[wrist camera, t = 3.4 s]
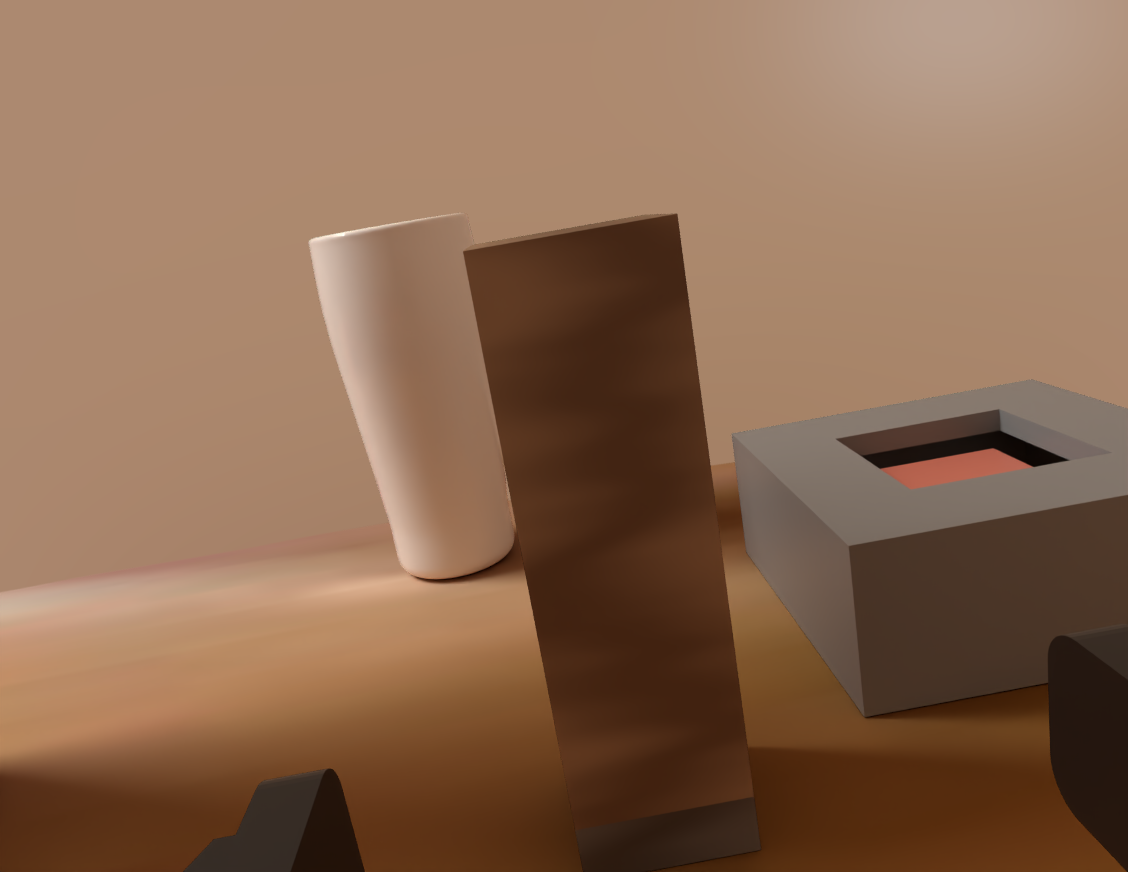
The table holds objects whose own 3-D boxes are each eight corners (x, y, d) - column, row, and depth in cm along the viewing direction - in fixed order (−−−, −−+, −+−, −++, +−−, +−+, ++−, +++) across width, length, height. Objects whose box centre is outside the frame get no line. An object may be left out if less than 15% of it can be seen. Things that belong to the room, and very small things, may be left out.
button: (927, 572, 26) (923, 517, 26) (865, 520, 31) (861, 472, 31) (1081, 544, 27) (1080, 488, 26) (995, 496, 31) (993, 448, 31)
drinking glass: (539, 522, 42) (481, 210, 39) (523, 581, 36) (451, 212, 32) (406, 540, 43) (337, 236, 40) (367, 600, 37) (278, 243, 33)
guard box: (864, 716, 23) (848, 546, 22) (746, 552, 35) (731, 433, 34) (1295, 636, 24) (1303, 462, 22) (1035, 499, 35) (1031, 379, 34)
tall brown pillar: (585, 883, 19) (462, 251, 16) (572, 772, 23) (471, 244, 20) (760, 849, 19) (677, 213, 16) (719, 745, 23) (644, 215, 20)
